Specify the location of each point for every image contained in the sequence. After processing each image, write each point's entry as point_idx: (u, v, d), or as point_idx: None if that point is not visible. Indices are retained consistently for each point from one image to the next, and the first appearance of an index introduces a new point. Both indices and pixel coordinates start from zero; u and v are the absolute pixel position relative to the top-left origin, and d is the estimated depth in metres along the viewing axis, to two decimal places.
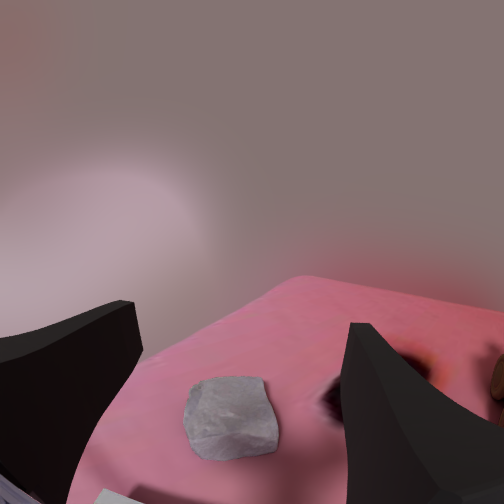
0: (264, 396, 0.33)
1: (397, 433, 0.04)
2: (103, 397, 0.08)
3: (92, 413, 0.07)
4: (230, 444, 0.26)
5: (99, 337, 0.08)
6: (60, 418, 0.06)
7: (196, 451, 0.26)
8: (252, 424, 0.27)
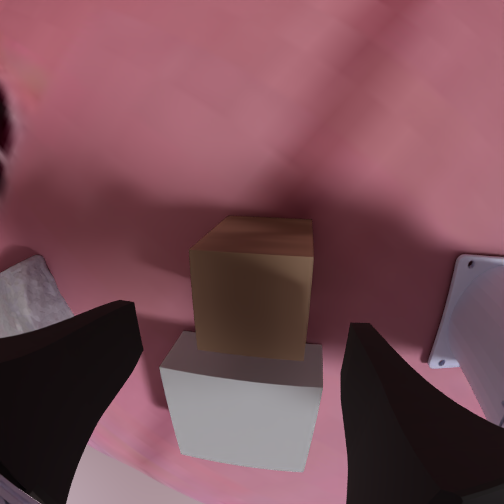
0: None
1: (396, 433, 0.04)
2: (103, 397, 0.08)
3: (92, 413, 0.07)
4: (49, 319, 0.20)
5: (99, 337, 0.08)
6: (60, 418, 0.06)
7: None
8: (15, 304, 0.18)
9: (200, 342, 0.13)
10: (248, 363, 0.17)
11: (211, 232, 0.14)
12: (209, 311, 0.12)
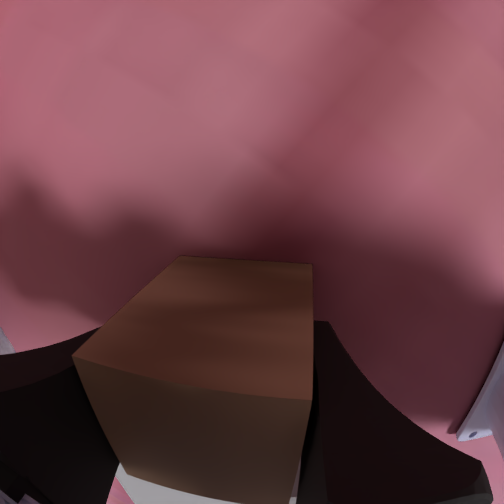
0: None
1: (318, 434, 0.04)
2: None
3: None
4: None
5: None
6: (97, 434, 0.06)
7: None
8: None
9: (128, 469, 0.06)
10: None
11: (133, 301, 0.07)
12: (128, 443, 0.06)
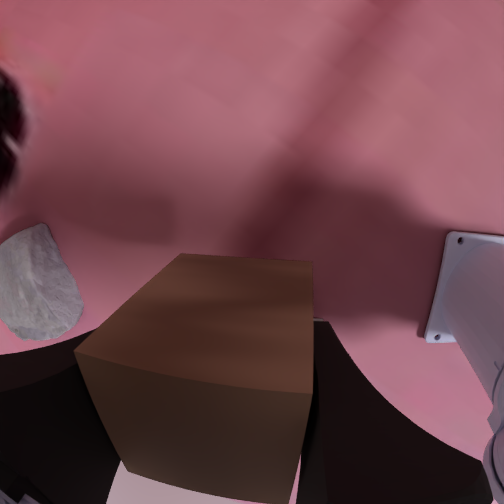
0: None
1: (318, 435, 0.04)
2: None
3: None
4: (51, 284, 0.21)
5: None
6: (97, 434, 0.06)
7: (77, 316, 0.23)
8: (18, 268, 0.19)
9: (128, 466, 0.06)
10: None
11: (134, 298, 0.07)
12: (130, 439, 0.06)
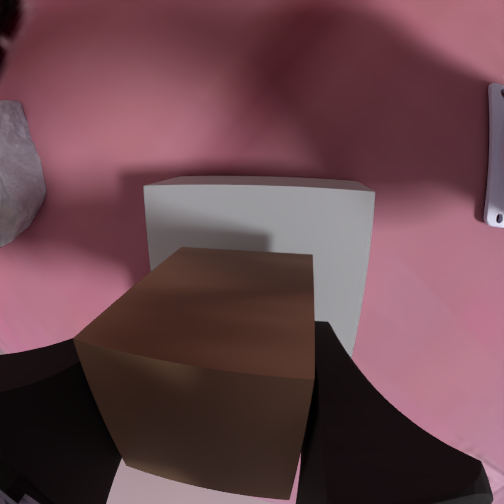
0: None
1: (318, 434, 0.04)
2: None
3: None
4: (12, 158, 0.15)
5: None
6: (97, 434, 0.06)
7: (36, 202, 0.17)
8: None
9: (127, 460, 0.06)
10: (266, 181, 0.13)
11: (134, 288, 0.07)
12: (129, 431, 0.06)
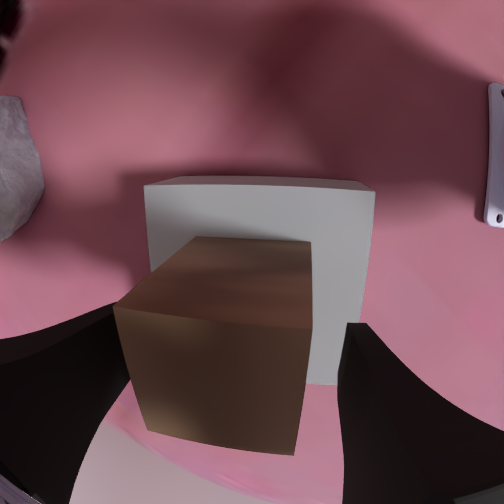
0: None
1: (391, 434, 0.04)
2: (106, 398, 0.08)
3: (95, 414, 0.07)
4: (11, 153, 0.15)
5: (102, 338, 0.08)
6: (63, 419, 0.06)
7: (34, 196, 0.17)
8: None
9: (149, 423, 0.08)
10: (267, 181, 0.13)
11: (160, 268, 0.09)
12: (154, 391, 0.07)
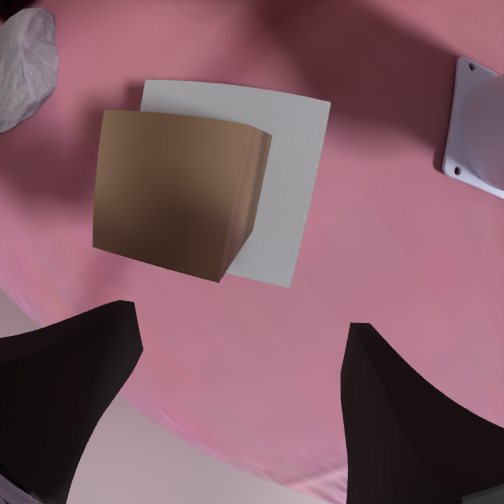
0: None
1: (396, 434, 0.04)
2: (103, 397, 0.08)
3: (92, 413, 0.07)
4: (36, 52, 0.15)
5: (99, 337, 0.08)
6: (60, 418, 0.06)
7: (46, 91, 0.17)
8: (13, 31, 0.13)
9: (96, 236, 0.09)
10: None
11: None
12: (111, 191, 0.09)
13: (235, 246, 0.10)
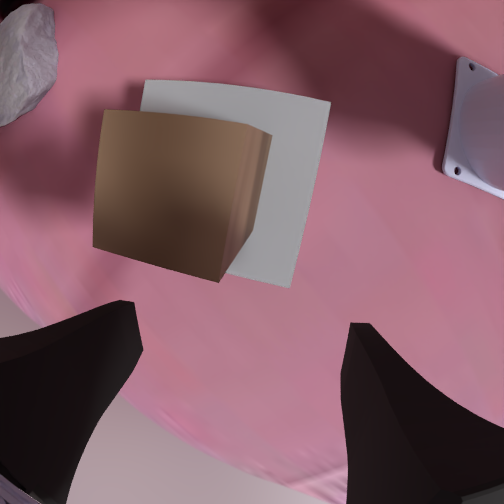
0: None
1: (396, 434, 0.04)
2: (103, 397, 0.08)
3: (92, 413, 0.07)
4: (35, 47, 0.15)
5: (99, 337, 0.08)
6: (60, 418, 0.06)
7: (45, 84, 0.17)
8: (13, 26, 0.13)
9: (96, 236, 0.09)
10: None
11: None
12: (111, 191, 0.09)
13: (235, 246, 0.10)
